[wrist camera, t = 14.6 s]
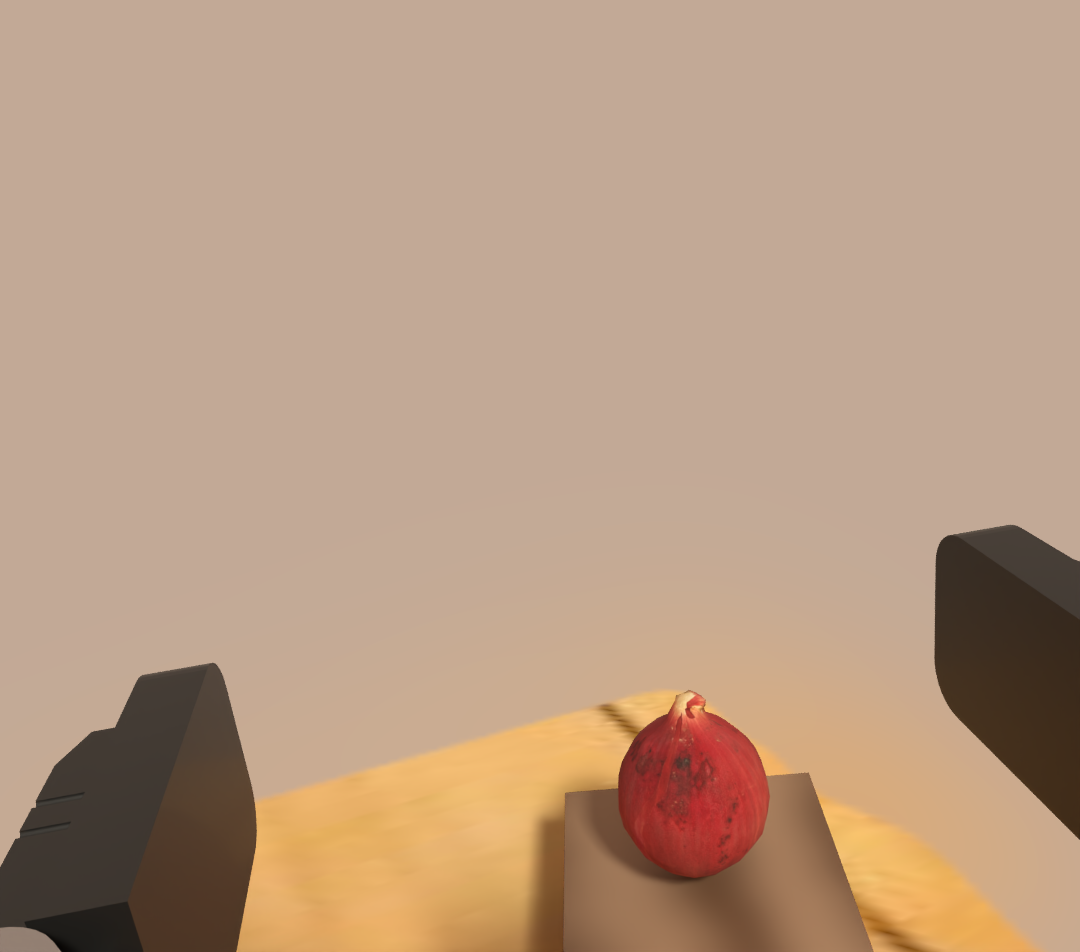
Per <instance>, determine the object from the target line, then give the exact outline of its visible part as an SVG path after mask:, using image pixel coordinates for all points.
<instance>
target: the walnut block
mask: <svg viewBox="0 0 1080 952" xmlns="http://www.w3.org/2000/svg"><path fill="white" fill-rule="evenodd" d="M766 777H767V781H768V787H769V793H770V800H769V807H768V814H767V818H766V822H765V826H764V830H763V834H762V835H761V837H760V838H759V839H758V841H757V842H756V843H755V844H754V846H753V847H752V848H751V849H750V850H749V851H748V853H747V854H746V855H745V856H744V857H743V858H742V859H741V860H740V861H739V862H737V863H736V864H734V865H732V866H730V867H728V868H726V869H725V870H723V871H721V872H719V873H717V874H716V875H711V876H705V877H698V878H691V877H686V876H681V875H676V874H672V873H670V872H668V871H666V870H664V869H662V868H661V867H659V866H658V865H656V864H655V863H653V862H651V861H650V860H648V859H647V858H645V856H644V855H643V854H642V852H641V851H640V850H639V849H638V847H637V846H636V845H635V843H634V842H633V840H632V839H631V837H630V836H629V834H628V833H627V831H626V830H625V828H624V826H623V822H622V819H621V815H620V812H619V802H618V789H606V790H593V791H581V792H569V793H565V853H564V931H563V952H874V951H873V949H872V946H871V943H870V940H869V938H868V935H867V932H866V929H865V927H864V924H863V921H862V918H861V916H860V913H859V910H858V907H857V905H856V902H855V899H854V896H853V894H852V891H851V888H850V885H849V883H848V880H847V877H846V874H845V872H844V869H843V866H842V863H841V861H840V858H839V855H838V852H837V850H836V847H835V844H834V841H833V838H832V836H831V833H830V830H829V827H828V825H827V822H826V819H825V816H824V814H823V811H822V808H821V805H820V803H819V800H818V797H817V794H816V792H815V789H814V786H813V783H812V781H811V778H810V775H809V773H798V774H786V775H774V776H766Z"/></svg>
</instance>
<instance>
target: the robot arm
mask: <svg viewBox="0 0 1080 952" xmlns="http://www.w3.org/2000/svg"><path fill="white" fill-rule="evenodd" d="M935 584H936V585H935V586H936V587H935V588H936V589H935V669H936V675H937V679H938V682H939V686H940V689H941V692H942V694H943V696H944V698H945V700H946V702H947V704H948V706H949V707H950V709H951V710H952V712H953V713H954V714H955V715H956V716H957V717H958V719H959V720H960V721H961V722H962V723H964V725H965V726H967V728H968V729H969V730H971V732H972V733H973V734H974V735H976V737H977V738H979V740H981V742H982V743H984V744H985V745H986V747H987V748H989V749H990V750H991V752H993V754H995V756H996V757H998V759H999V760H1000V761H1001V762H1002V763H1003V764H1004V765H1006V767H1008V768H1009V770H1010V771H1011V772H1013V774H1015V776H1016V777H1017V778H1018V779H1020V780H1021V782H1022V783H1023V784H1025V786H1026V787H1028V788H1029V789H1030V791H1031V792H1033V794H1034V795H1036V797H1037V798H1038V799H1040V800H1041V801H1042V803H1043V804H1045V805H1046V807H1047V808H1048V809H1049V810H1050V811H1052V813H1053V814H1055V816H1056V817H1057V818H1058V819H1059V820H1061V822H1062V823H1063V824H1064V825H1065V826H1066V827H1068V829H1069V830H1071V831H1072V833H1073V834H1075V836H1076V837H1077V838H1078V839H1080V561H1077V560H1074V559H1072V558H1070V557H1069V556H1067V555H1065V554H1064V553H1062V552H1060V551H1059V550H1057V549H1055V548H1053V547H1052V546H1050V545H1049V544H1047V543H1045V542H1044V541H1042V540H1040V539H1039V538H1037V537H1035V536H1034V535H1032V534H1030V533H1029V532H1027V531H1025V530H1024V529H1022V528H1020V527H1018V526H1015V525H1006V526H1000V527H994V528H989V529H983V530H977V531H971V532H966V533H960V534H954V535H949V536H947V537H945V538H944V539H943V540H942V541H941V542H940V544H939V547H938V550H937V555H936V583H935ZM256 833H257V829H256V811H255V802H254V796H253V791H252V786H251V782H250V778H249V774H248V770H247V767H246V762H245V759H244V754H243V751H242V747H241V743H240V739H239V735H238V731H237V728H236V724H235V720H234V716H233V712H232V708H231V704H230V700H229V696H228V692H227V688H226V685H225V681H224V679H223V676H222V673H221V671H220V669H219V668H218V666H217V665H216V664H215V663H210V664H204V665H198V666H193V667H187V668H181V669H175V670H170V671H164V672H158V673H152V674H147V675H142V676H140V677H139V678H138V680H137V682H136V684H135V686H134V688H133V691H132V693H131V695H130V697H129V699H128V701H127V703H126V705H125V707H124V710H123V712H122V714H121V716H120V718H119V721H118V722H117V725H116V727H115V728H111V729H105V730H99V731H94V732H91V733H90V734H89V735H88V736H87V737H86V738H85V739H84V740H82V742H80V743H79V744H78V745H77V746H76V747H75V748H74V749H73V750H72V751H70V752H69V753H68V754H67V755H66V756H65V757H64V758H63V759H62V760H60V761H59V762H58V763H57V764H56V765H55V766H54V768H53V770H52V772H51V774H50V776H49V777H48V779H47V781H46V783H45V785H44V787H43V789H42V790H41V792H40V794H39V796H38V798H37V800H36V808H32V809H31V811H30V813H29V815H28V817H27V818H26V820H25V822H24V824H23V826H22V828H21V829H20V838H18V839H15V841H14V843H13V845H12V847H11V848H10V850H9V852H8V854H7V856H6V858H5V859H4V861H3V863H2V865H1V867H0V952H236V950H237V945H238V939H239V934H240V929H241V923H242V918H243V913H244V907H245V902H246V897H247V891H248V886H249V881H250V875H251V870H252V865H253V859H254V854H255V848H256Z"/></svg>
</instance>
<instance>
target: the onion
mask: <svg viewBox="0 0 1080 952" xmlns="http://www.w3.org/2000/svg"><path fill="white" fill-rule="evenodd" d="M705 701H706V700H705V699H704V698H703V697H702V696H700V695H699V694H697V693H695V692H693V691H690V690H688V691H687V692H685V693H683V694H680V695H677V696H676V699H675V702H674V704H673V705H672V707H671V709H670V711H669V713H668V714H666V715H663V716H661V717H659V718H657V719H656V720H654V721H653V722H652V723H650V724H649V725H647V726H646V727H645V728H644V729H643V730H642V731H640V733H639V734H638V735H637V736H636V737H635V739H634V740H633V742H632V744H631V746H630V748H629V750H628V752H627V753H626V755H625V757H624V759H623V761H622V764H621V768H620V772H619V780H618V802H619V812H620V815H621V819H622V822H623V826H624V828H625V830H626V831H627V833H628V834H629V836H630V837H631V839H632V840H633V842H634V843H635V845H636V846H637V847H638V849H639V850H640V851H641V852H642V854H643V855H644V856H645V858H647V859H648V860H650V861H651V862H653V863H655V864H656V865H658V866H659V867H661V868H662V869H664V870H666V871H668V872H670V873H672V874H676V875H681V876H686V877H691V878H698V877H705V876H711V875H716V874H717V873H719V872H721V871H723V870H725V869H726V868H728V867H730V866H732V865H734V864H736V863H737V862H739V861H740V860H741V859H742V858H743V857H744V856H745V855H746V854H747V853H748V851H749V850H750V849H751V848H752V847H753V846H754V844H755V843H756V842H757V841H758V839H759V838H760V837H761V835H762V834H763V830H764V826H765V822H766V818H767V814H768V807H769V800H770V793H769V787H768V781H767V777H766V774H765V771H764V768H763V765H762V762H761V759H760V757H759V755H758V753H757V751H756V748H755V747H754V745H753V744H752V743H751V742H750V740H749V739H748V738H747V737H746V736H745V735H744V734H743V733H741V732H740V731H739V730H738V729H736V728H735V727H734V726H732V725H731V724H730V723H728V722H727V721H726V720H724V719H722V718H721V717H719V716H717V715H714V714H712V713H708V712H705V710H704V706H705Z"/></svg>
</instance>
